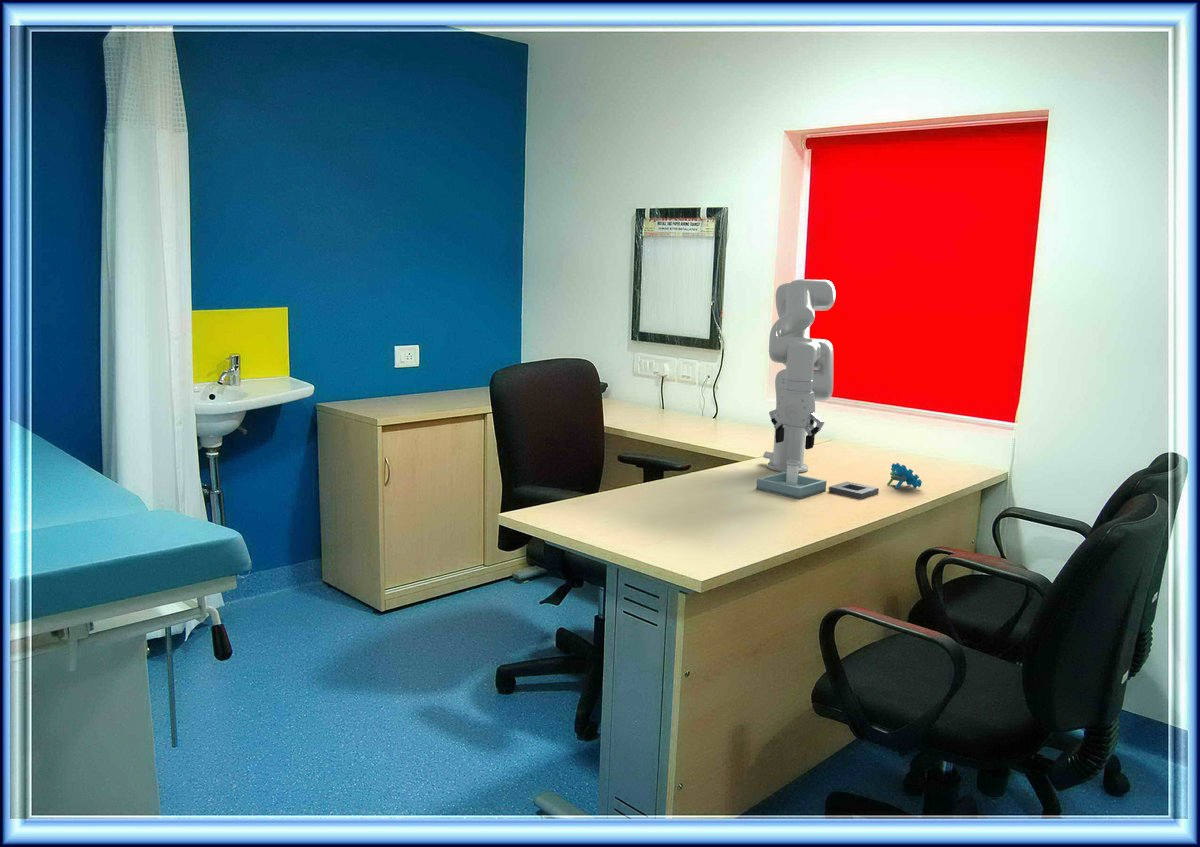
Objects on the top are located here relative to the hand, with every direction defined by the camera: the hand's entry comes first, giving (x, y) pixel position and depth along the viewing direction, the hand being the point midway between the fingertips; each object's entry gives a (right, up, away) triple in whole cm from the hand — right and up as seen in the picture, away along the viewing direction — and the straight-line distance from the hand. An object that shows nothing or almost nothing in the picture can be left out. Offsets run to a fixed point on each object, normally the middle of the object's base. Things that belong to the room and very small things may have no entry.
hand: (794, 445), depth 254 cm
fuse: (-1, -12, +1) cm, 12 cm away
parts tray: (-1, -13, +1) cm, 13 cm away
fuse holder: (+17, -13, +1) cm, 22 cm away
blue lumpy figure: (+34, -13, +9) cm, 38 cm away
